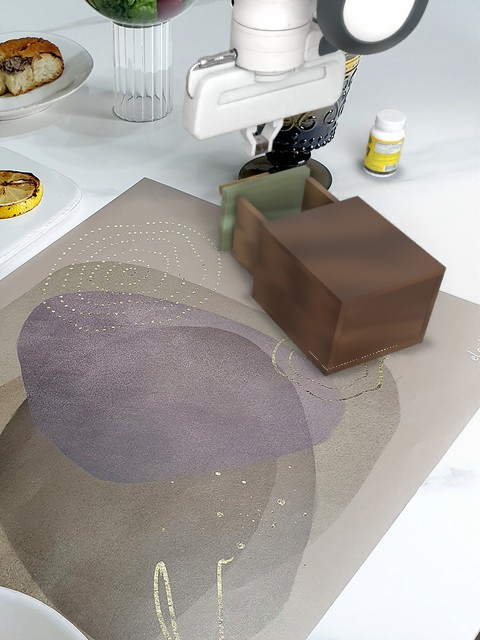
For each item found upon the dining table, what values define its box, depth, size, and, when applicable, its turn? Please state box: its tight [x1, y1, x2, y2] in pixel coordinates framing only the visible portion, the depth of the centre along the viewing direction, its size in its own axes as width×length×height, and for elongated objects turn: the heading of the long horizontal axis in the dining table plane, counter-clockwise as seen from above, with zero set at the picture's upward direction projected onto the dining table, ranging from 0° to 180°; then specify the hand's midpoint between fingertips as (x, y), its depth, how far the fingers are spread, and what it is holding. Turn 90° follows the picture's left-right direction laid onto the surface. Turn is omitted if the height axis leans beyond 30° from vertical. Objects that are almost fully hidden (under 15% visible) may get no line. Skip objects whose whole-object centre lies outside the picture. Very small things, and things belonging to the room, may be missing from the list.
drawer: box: [216, 164, 341, 278], centre depth 106 cm, size 19×12×9 cm, turn 23°
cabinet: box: [251, 195, 447, 377], centre depth 98 cm, size 16×13×11 cm
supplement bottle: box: [362, 108, 407, 178], centre depth 121 cm, size 5×5×8 cm
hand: (257, 152), depth 106 cm, fingers closed
